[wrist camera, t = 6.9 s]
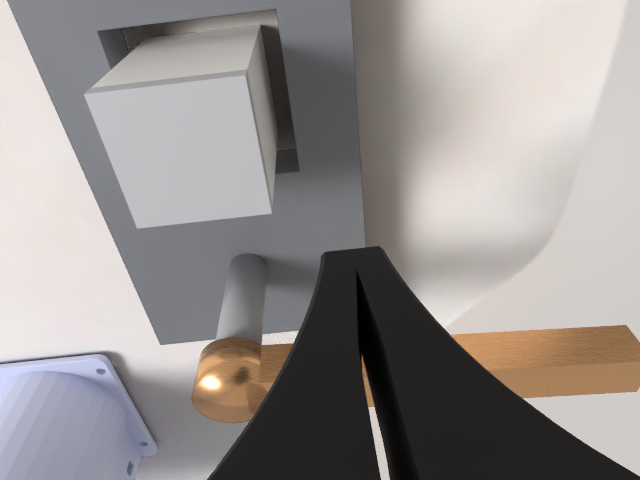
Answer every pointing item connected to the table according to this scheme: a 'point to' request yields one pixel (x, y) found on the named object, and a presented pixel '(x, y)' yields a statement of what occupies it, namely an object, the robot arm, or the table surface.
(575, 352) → the wooden square stick
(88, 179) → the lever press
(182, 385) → the table surface
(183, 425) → the table surface
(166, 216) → the plug
